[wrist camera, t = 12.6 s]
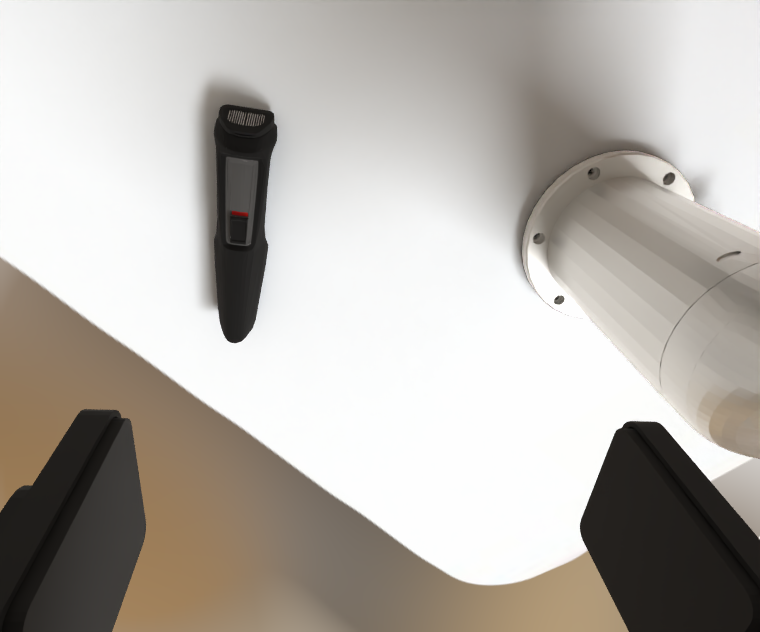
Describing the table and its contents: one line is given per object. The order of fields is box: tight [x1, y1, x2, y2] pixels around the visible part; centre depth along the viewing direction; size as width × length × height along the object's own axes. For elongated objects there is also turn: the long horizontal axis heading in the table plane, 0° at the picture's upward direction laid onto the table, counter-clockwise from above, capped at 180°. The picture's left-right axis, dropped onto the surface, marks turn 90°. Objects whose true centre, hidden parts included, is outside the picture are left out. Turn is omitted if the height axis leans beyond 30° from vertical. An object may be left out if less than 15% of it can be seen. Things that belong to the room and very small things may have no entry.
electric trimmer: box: [214, 105, 277, 343], centre depth 35 cm, size 4×16×3 cm, turn 170°
